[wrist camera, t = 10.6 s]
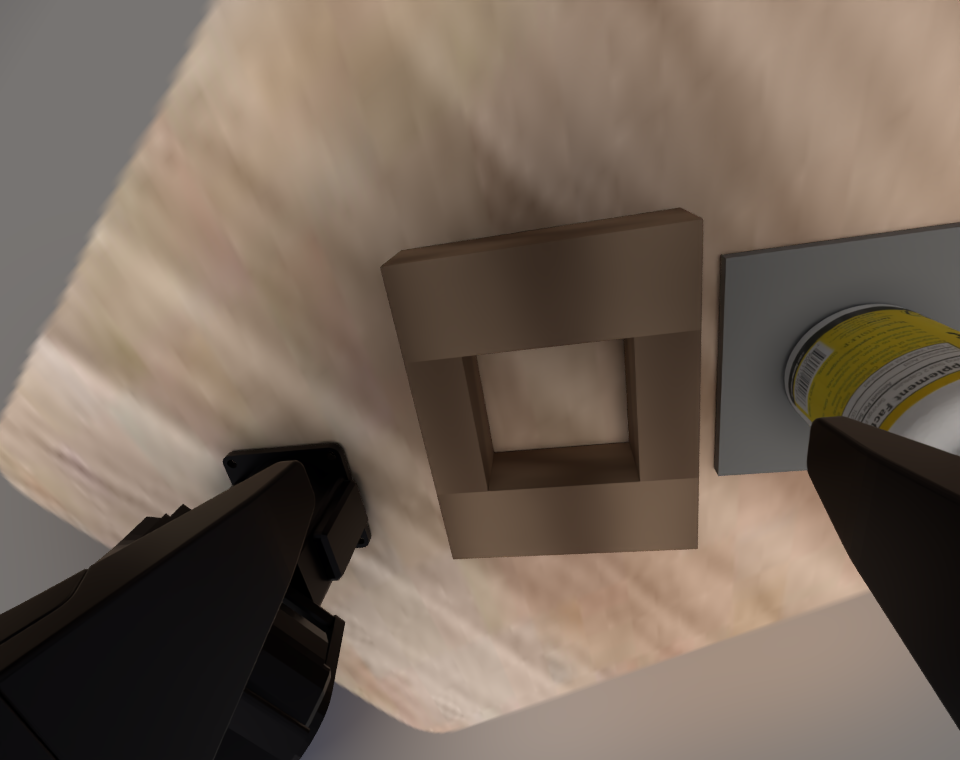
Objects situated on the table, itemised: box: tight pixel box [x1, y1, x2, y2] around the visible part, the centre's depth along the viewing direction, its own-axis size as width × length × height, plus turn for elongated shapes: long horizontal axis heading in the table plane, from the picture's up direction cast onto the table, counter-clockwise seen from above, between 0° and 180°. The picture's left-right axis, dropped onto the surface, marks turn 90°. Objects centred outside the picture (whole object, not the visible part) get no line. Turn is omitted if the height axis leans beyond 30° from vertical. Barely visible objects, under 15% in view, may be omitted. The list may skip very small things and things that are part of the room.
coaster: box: [714, 223, 960, 476], centre depth 20 cm, size 10×10×1 cm
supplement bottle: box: [784, 304, 960, 456], centre depth 16 cm, size 5×5×10 cm
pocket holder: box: [380, 208, 703, 559], centre depth 21 cm, size 11×14×3 cm
